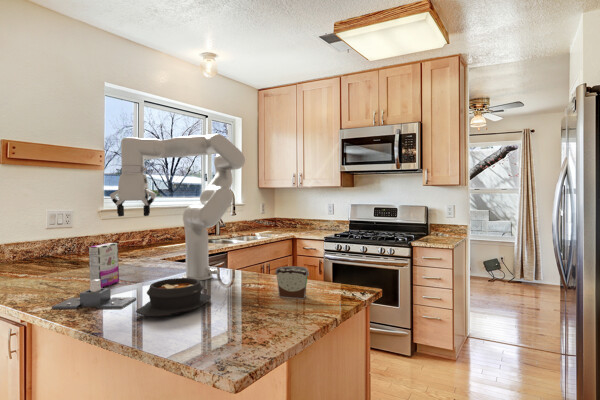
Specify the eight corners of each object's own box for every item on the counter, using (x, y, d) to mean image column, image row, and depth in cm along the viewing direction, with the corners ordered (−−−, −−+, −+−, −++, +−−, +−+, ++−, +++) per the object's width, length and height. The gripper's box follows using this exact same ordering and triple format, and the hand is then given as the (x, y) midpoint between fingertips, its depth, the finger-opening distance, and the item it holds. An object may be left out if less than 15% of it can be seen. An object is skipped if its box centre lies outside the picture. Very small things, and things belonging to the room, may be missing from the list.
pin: (102, 302, 128) (102, 279, 127) (97, 305, 125) (97, 281, 124) (93, 302, 128) (93, 279, 127) (88, 305, 125) (88, 281, 124)
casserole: (168, 326, 104) (167, 296, 104) (121, 317, 112) (120, 289, 112) (224, 302, 127) (223, 277, 126) (181, 296, 135) (181, 272, 135)
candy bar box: (108, 281, 158) (108, 242, 158) (119, 282, 157) (118, 242, 157) (88, 288, 147) (88, 246, 147) (100, 289, 146) (99, 246, 146)
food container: (313, 294, 135) (313, 266, 134) (308, 299, 129) (308, 270, 129) (281, 292, 139) (281, 265, 138) (275, 296, 133) (274, 268, 133)
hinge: (136, 299, 131) (135, 286, 131) (121, 308, 121) (121, 294, 121) (71, 300, 131) (71, 287, 131) (52, 308, 121) (51, 294, 121)
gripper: (159, 171, 147) (160, 215, 147) (115, 171, 147) (116, 215, 147) (151, 169, 139) (152, 216, 139) (104, 170, 139) (105, 217, 140)
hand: (133, 216), depth 143 cm, fingers open, 9 cm apart
